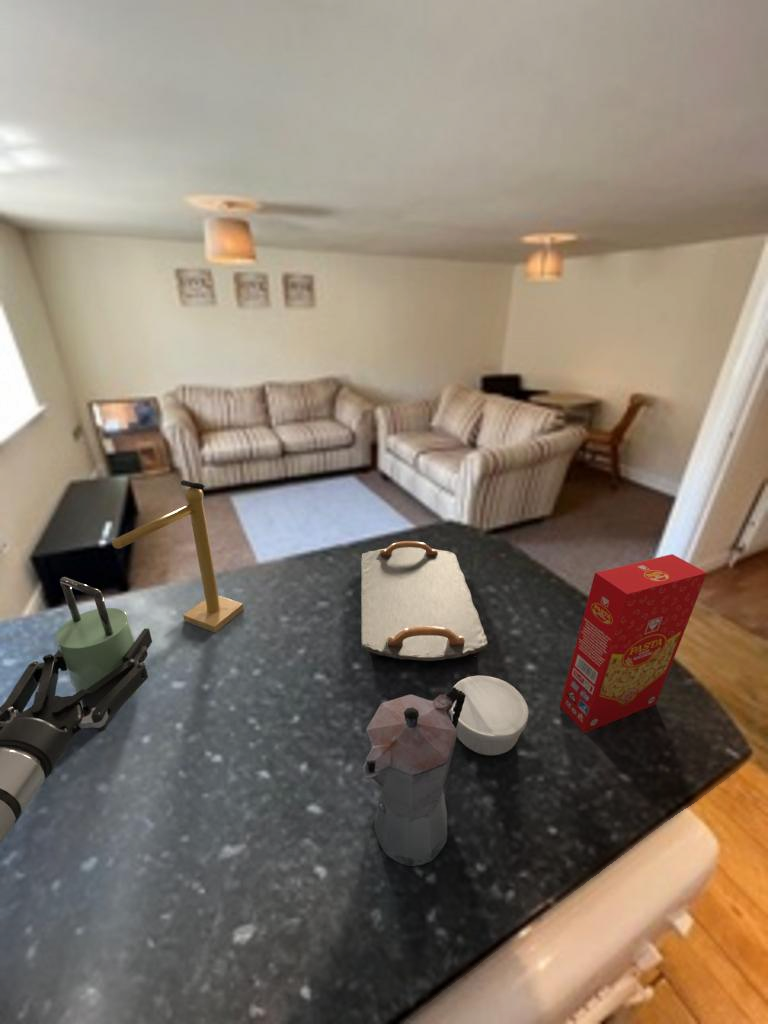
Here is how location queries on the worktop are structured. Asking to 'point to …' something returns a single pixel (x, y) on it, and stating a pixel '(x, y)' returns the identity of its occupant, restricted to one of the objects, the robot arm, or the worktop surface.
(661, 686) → the food packaging
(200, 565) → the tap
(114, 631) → the green hanging weight
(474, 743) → the ramekin
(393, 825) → the moka pot
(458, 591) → the serving tray
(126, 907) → the worktop surface
